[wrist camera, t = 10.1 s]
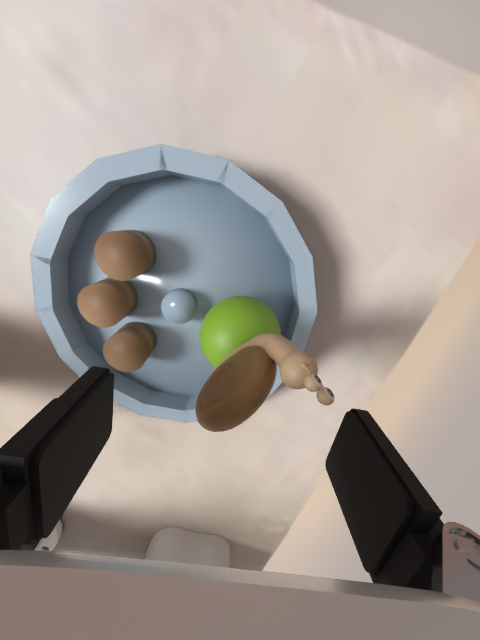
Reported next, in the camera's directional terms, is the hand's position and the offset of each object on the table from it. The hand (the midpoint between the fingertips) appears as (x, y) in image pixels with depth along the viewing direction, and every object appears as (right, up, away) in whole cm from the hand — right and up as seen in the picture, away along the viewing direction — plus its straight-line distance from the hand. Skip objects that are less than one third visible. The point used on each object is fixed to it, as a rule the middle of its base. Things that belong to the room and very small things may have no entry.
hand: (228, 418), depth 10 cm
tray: (-4, +6, +10) cm, 12 cm away
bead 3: (-8, +2, +10) cm, 13 cm away
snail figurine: (+1, +4, +10) cm, 11 cm away
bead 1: (-7, +9, +8) cm, 14 cm away
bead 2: (-9, +6, +9) cm, 14 cm away
